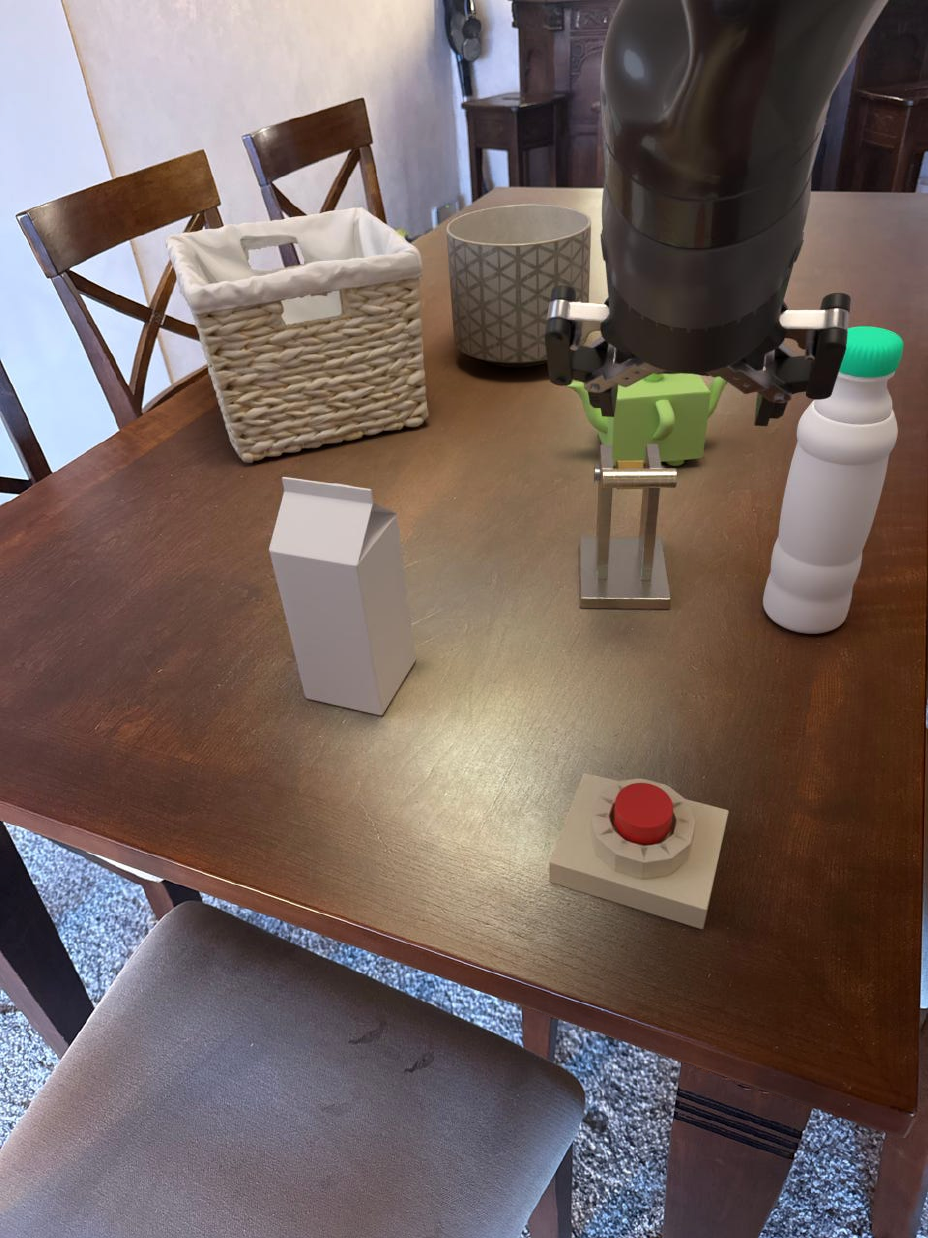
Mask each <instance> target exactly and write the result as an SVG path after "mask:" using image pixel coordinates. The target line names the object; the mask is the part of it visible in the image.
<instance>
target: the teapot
mask: <svg viewBox="0 0 928 1238" xmlns="http://www.w3.org/2000/svg"><path fill="white" fill-rule="evenodd" d="M727 384H728V382H727V381H725V380H724V379H722V378H721V377H715V378H714V379H713V380H712V382H711V383H710V385H709V387H708V386H707V384H706V383H705V381H704V380H703V378H702V376H701V375H696V374H682V373H679V374H659V375H657V374H654V373H653V374H651V375H649V376H647V377H645V378H643V379H642V380H640V381H638V382H636V383H634V384H632V385H630V386H628V387H622V386H620V385H618V393H617V400H616V407H615V414H614V417H604V416H602V414H601V408H593V407H592V406H591V405H590V402H589V395H588V391H587V390H585V389H584V383H583V382H581V381H572V383H571V384H570V385H567V386H566V387H567V388H569V389H570V390H571V389H572V391H574V392H576V393H577V395H578V396H579V399H580V400H581V403H582V406H583V411H584V413H585V416H586V418H587V420H588V423H589V424H590V425H591V426H592V427H593V428H594V429H595V430H596V431H597V434H598V436H599V439H600V441H601V445H612V456H613V467H614V466H615V467H616V461H617V460H641V461H644V464H645V455H646V445H647V444H658V448H659V454H660V460H661V463H662V462H663V463H664V462H665V464H667V465H669V466H672V467H673V466H675V467H676V466H677V467H678V466H681V465H683V464H684V463H685V460H686V461H687V460H697V459H703V458H704V453H705V452H704V451H705V443H706V436H707V435H706V433H707V429H708V428H707V427H708V420H709V419H710V418H711V416H712V415H713V414H714V412H715V410H716V409H717V406H718V404H719V402H720V398H721V396H722V394H723V391H724V390H725V387H726V386H727Z"/></svg>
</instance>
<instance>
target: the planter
mask: <svg viewBox="0 0 928 1238" xmlns="http://www.w3.org/2000/svg"><path fill="white" fill-rule="evenodd" d="M445 232H446V245H447V246H446V247H447V260H448V274H449V290H450V301H451V303H450V304H451V318H452V319H451V320H452V331H453V343H454V345H455V347H456V348H457V349H458V350H459V351H460V352H462V353H463V354H465V355H467V356H470V357H471V358H475V359H478V360H482V361H485V362H487V363H490V364H493V365H496V366H499V367H504V368H511V369H513V368H514V369H522V368H532V367H537V366H540V365H543V364H546V363H547V354H546V345H545V330H546V323H547V316H548V309H549V303H550V297H551V290H552V288H554V287H555V286H560V285H564V286H569V287H571V288H573V289H574V290H575V291H576V302H579V301H580V302H583V303H590V281H591V280H590V277H591V276H590V275H591V246H592V245H591V244H592V219H591V217H590V215H588V214H587V213H586V212H584V211H581V210H579V209H576V208H572V207H567V206H562V205H554V204H543V203H542V204H541V203H540V204H539V203H536V204H535V203H527V204H525V203H523V204H508V205H500V206H492V207H487V208H482V209H478V210H474V211H470V212H467V213H463V214H462V215H459V216H457V217H456V218H453V219H452V220H451V221H450V222H448V224H447V225H446V228H445ZM587 340H588V337H587V338H586V339H584V340H580V346H584V344H585V343H586V341H587Z"/></svg>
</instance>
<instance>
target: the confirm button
mask: <svg viewBox="0 0 928 1238" xmlns="http://www.w3.org/2000/svg"><path fill="white" fill-rule="evenodd" d="M672 815H673V803H672V800H671V798H670V797H669V795H668V794H667V793H666V792H665V791H664V790H662V789H661V788H659V787H657V786H655V785H652V784H648V783H634V784H630V785H628V786H626V787H624V788H623V789H622V790H621V791H620V792H619V793H618V795H617V797H616V800H615V812H614V824H615V827H616V829H617V831H618V832H619V833H620V835H622V836H623V837H624V838H625V839H627V840H628V841H630V842H633V843H636V844H641V845H650V844H655V843H658V842H660V841H661V840H663V839H664V838H665V837H666V836H667V835H668V833H669V831H670V828H671V822H672Z"/></svg>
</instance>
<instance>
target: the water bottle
mask: <svg viewBox="0 0 928 1238" xmlns="http://www.w3.org/2000/svg"><path fill="white" fill-rule="evenodd" d="M903 353H904V341H903V339H902V337H901V336H900V335H899V334H897V333H896V332H894V331H892V330H888V329H887V328H883V327H878V326H868V325H866V326H864V325H862V326H851V327H848V335H847V345H846V351H845V354H844V358H843V361H842V364H841V367H840V370H839V373H838V376H837V379H836V382H835V386H834V389H833V392H832V395H831V396H830V397H829V398H826V399H822V400H815V399H813V401H812V402H811V403H810V404H809V405H808V407H807V408H806V409H805V411H804V412H803V413H802V415H801V417H800V418H799V420H798V423H797V426H796V441H797V442H796V445H795V448H794V450H793V451H794V452H793V455H792V459H791V463H790V467H789V470H788V475H787V479H786V484H785V487H784V493H783V499H782V504H781V510H780V515H779V516H780V518H779V525H778V536H777V538H776V541H775V543H774V545H773V548H772V553H771V558H770V572H769V575H768V577H767V580H766V583H765V587H764V592H763V597H762V606H763V610H764V611H765V613H766V615H767V616H768V617H769V618H770V619H771V620H772V622H774V623H776V624H777V625H779V626H780V627H781V628H784V629H787V630H789V631H791V632H794V633H799V634H807V635H817V634H825V633H827V632H831V631H833V630H836V629H837V628H840V626H841V625H842V624H844V622H845V621H846V619H847V616H848V613H849V610H850V607H851V602H852V597H853V587H854V586H855V583H856V581H857V579H858V576H859V573H860V570H861V566H862V562H863V561H862V560H863V550H864V548H865V546H866V543H867V541H868V538H869V535H870V532H871V529H872V526H873V523H874V519H875V516H876V513H877V510H878V507H879V503H880V499H881V495H882V491H883V487H884V483H885V479H886V475H887V470H888V464H889V457H890V453H891V452H892V451H893V449H894V448H895V445H896V443H897V439H898V435H899V433H898V432H899V428H898V422H897V418H896V414H895V411H894V409H893V400H892V399H893V398H892V396H891V394H890V392H889V389H888V382H889V380H890V379H891V378H893V377H894V376H895V374H896V371H897V370H898V368H899V366H900V363H901V360H902V358H903Z"/></svg>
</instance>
